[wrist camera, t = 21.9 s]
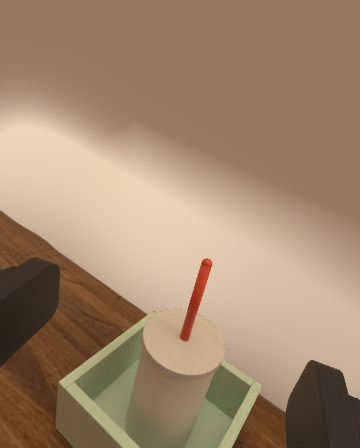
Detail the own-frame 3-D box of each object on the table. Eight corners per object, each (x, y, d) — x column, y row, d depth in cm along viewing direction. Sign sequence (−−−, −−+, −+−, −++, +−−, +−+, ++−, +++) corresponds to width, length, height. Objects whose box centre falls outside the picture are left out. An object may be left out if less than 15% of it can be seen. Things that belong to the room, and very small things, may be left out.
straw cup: (199, 406, 29) (257, 254, 21) (181, 477, 23) (251, 304, 16) (140, 380, 30) (177, 227, 23) (109, 442, 24) (145, 266, 17)
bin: (242, 425, 29) (262, 385, 26) (174, 563, 19) (195, 521, 17) (144, 348, 34) (153, 310, 32) (54, 427, 25) (58, 381, 23)
